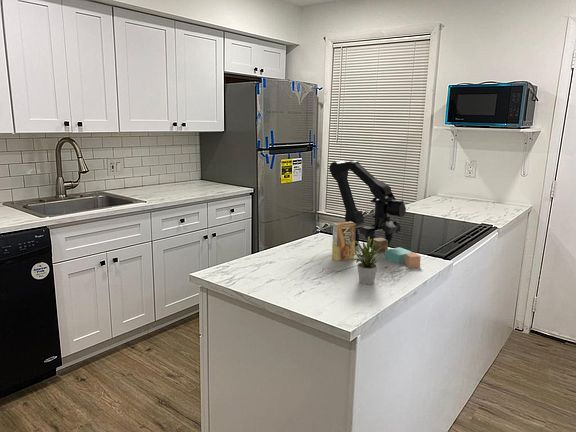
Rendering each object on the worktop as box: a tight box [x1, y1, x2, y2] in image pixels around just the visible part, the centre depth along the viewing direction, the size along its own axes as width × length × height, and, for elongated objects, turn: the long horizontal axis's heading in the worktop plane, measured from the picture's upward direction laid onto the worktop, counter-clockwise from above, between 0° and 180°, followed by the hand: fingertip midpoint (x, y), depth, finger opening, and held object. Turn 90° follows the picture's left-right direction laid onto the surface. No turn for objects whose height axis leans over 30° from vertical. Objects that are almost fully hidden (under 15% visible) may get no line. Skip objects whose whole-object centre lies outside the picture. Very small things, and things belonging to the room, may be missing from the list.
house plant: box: [351, 237, 384, 285], centre depth 158 cm, size 14×14×16 cm
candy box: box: [331, 221, 356, 262], centre depth 183 cm, size 9×4×15 cm, turn 116°
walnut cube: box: [373, 237, 389, 253], centre depth 196 cm, size 5×5×5 cm
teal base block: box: [384, 247, 414, 265], centre depth 183 cm, size 8×8×4 cm
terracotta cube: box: [404, 252, 421, 268], centre depth 176 cm, size 4×4×4 cm
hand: (379, 247), depth 196 cm, fingers open, 8 cm apart
